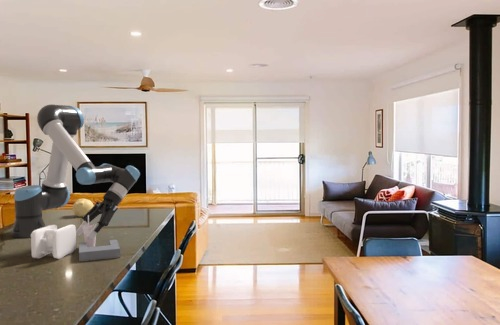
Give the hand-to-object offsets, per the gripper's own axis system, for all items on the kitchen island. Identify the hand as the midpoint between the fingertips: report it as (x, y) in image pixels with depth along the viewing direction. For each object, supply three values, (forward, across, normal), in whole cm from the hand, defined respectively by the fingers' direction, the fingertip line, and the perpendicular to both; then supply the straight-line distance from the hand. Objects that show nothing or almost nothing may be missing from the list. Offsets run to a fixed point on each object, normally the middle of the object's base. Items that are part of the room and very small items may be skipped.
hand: (83, 236), depth 178 cm
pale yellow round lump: (-25, +69, -33) cm, 81 cm away
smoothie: (+2, 0, -6) cm, 6 cm away
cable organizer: (+13, -1, +5) cm, 14 cm away
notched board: (+4, -13, -3) cm, 14 cm away
